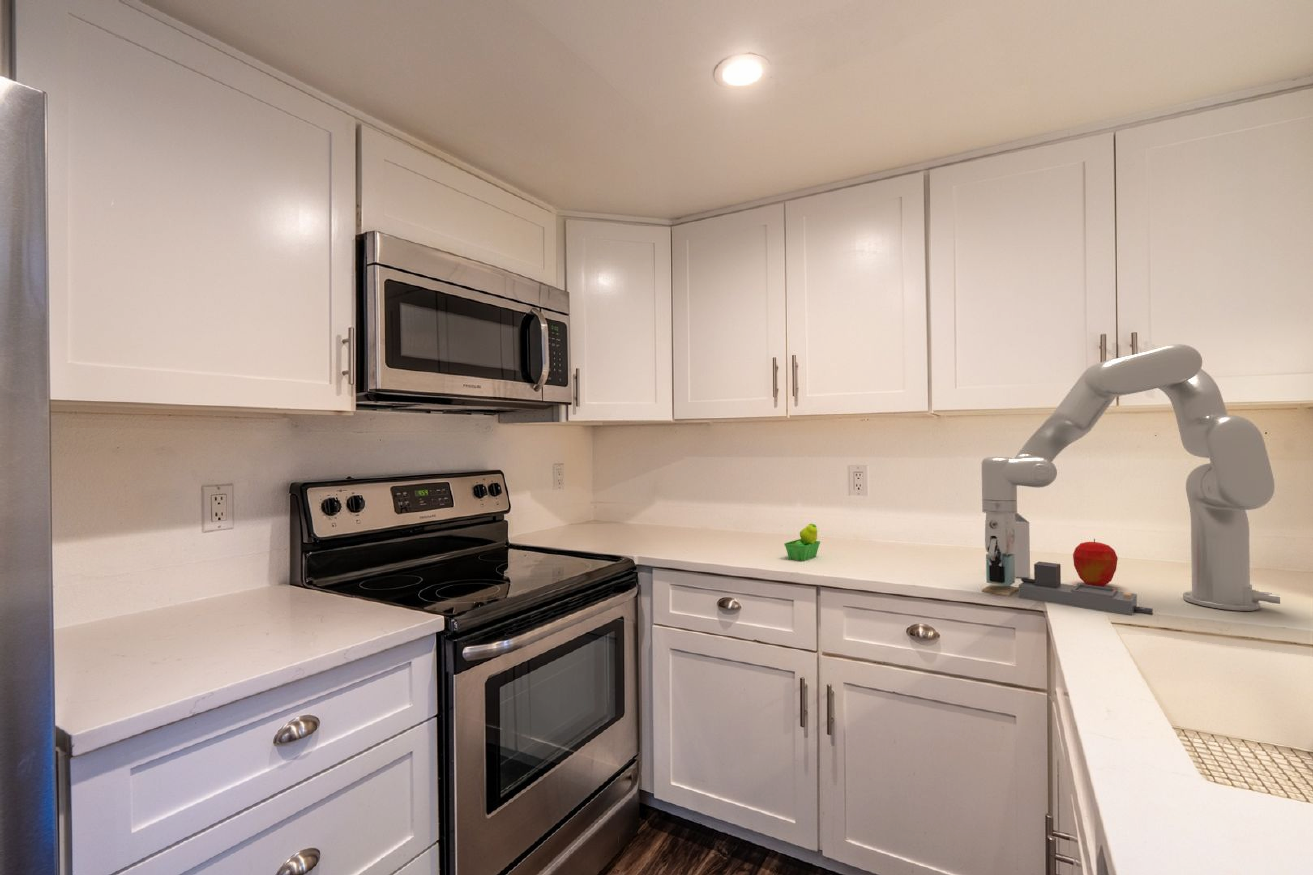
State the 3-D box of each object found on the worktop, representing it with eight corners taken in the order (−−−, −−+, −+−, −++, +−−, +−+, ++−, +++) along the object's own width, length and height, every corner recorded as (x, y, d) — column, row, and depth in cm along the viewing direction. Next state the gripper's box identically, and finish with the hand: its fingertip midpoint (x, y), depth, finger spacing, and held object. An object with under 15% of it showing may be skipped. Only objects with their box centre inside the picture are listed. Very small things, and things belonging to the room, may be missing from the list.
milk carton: (1016, 572, 166) (1016, 504, 166) (1030, 578, 159) (1029, 507, 159) (990, 571, 167) (989, 504, 167) (1002, 577, 160) (1001, 507, 160)
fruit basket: (800, 553, 196) (799, 519, 196) (825, 557, 191) (824, 522, 191) (783, 559, 188) (782, 523, 188) (809, 563, 182) (808, 526, 182)
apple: (1124, 591, 144) (1123, 542, 144) (1080, 588, 147) (1079, 540, 147) (1109, 582, 153) (1109, 536, 153) (1068, 580, 156) (1068, 534, 156)
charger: (1014, 582, 147) (1014, 554, 147) (1008, 586, 143) (1008, 557, 143) (992, 579, 150) (992, 551, 150) (986, 582, 146) (985, 554, 146)
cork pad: (1018, 589, 147) (1018, 587, 147) (1009, 596, 142) (1009, 593, 142) (992, 585, 152) (992, 583, 152) (982, 591, 146) (982, 589, 146)
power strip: (1154, 610, 129) (1153, 573, 129) (1150, 618, 123) (1149, 580, 123) (1025, 590, 146) (1025, 558, 146) (1016, 597, 141) (1016, 563, 141)
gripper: (1006, 511, 138) (1007, 589, 138) (1026, 504, 150) (1027, 576, 150) (971, 508, 143) (972, 583, 143) (993, 502, 155) (994, 571, 155)
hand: (1000, 579), depth 147 cm, fingers closed on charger, 5 cm apart
